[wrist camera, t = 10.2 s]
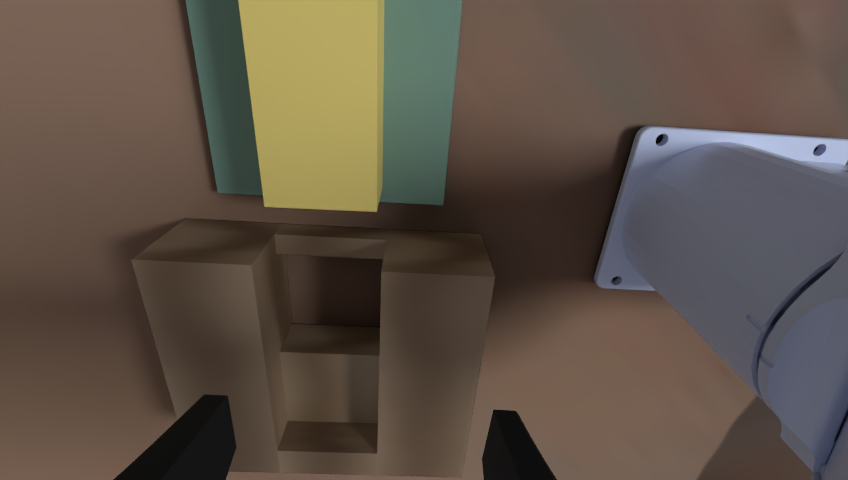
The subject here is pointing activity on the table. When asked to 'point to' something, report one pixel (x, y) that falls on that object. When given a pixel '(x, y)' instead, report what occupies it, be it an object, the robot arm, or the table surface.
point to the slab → (317, 100)
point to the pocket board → (323, 345)
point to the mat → (402, 96)
